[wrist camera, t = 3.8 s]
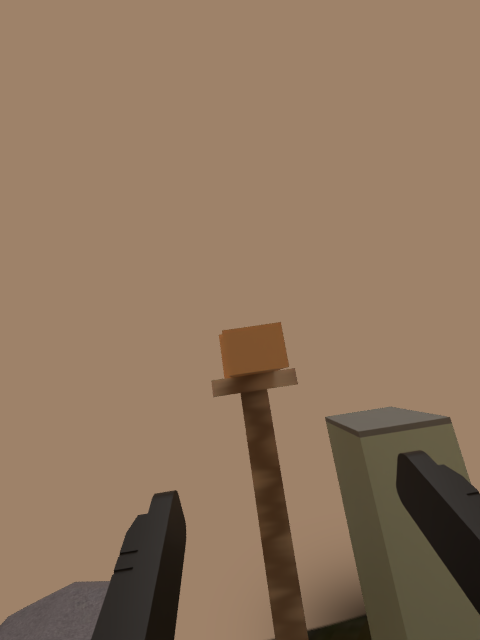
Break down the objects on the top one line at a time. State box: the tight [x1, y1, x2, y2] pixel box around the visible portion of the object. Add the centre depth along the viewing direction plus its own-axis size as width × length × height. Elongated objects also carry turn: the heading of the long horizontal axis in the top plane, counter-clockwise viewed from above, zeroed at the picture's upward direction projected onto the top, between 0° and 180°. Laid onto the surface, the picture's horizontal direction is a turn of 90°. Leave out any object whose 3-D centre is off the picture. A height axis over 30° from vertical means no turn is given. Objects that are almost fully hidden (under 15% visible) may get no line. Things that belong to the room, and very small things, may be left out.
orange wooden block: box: [219, 322, 289, 379], centre depth 25 cm, size 6×16×5 cm, turn 0°
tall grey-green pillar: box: [325, 407, 480, 640], centre depth 23 cm, size 8×9×26 cm
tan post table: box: [212, 368, 308, 640], centre depth 25 cm, size 8×8×32 cm
